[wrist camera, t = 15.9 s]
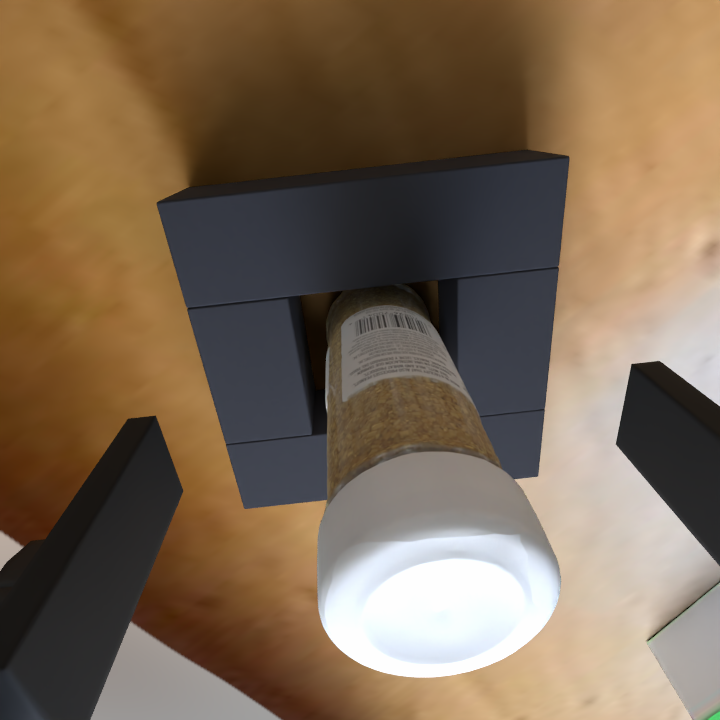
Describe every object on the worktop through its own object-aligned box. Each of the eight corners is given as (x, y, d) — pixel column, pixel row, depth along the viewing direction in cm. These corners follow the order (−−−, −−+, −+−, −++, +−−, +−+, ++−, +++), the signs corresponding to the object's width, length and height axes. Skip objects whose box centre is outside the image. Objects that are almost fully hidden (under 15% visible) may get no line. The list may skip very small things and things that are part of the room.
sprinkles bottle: (312, 355, 21) (285, 671, 9) (345, 259, 19) (365, 497, 7) (407, 382, 22) (498, 702, 10) (447, 293, 20) (621, 555, 8)
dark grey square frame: (186, 187, 17) (155, 202, 14) (528, 149, 17) (570, 155, 14) (256, 457, 23) (244, 509, 20) (511, 429, 23) (538, 476, 20)
